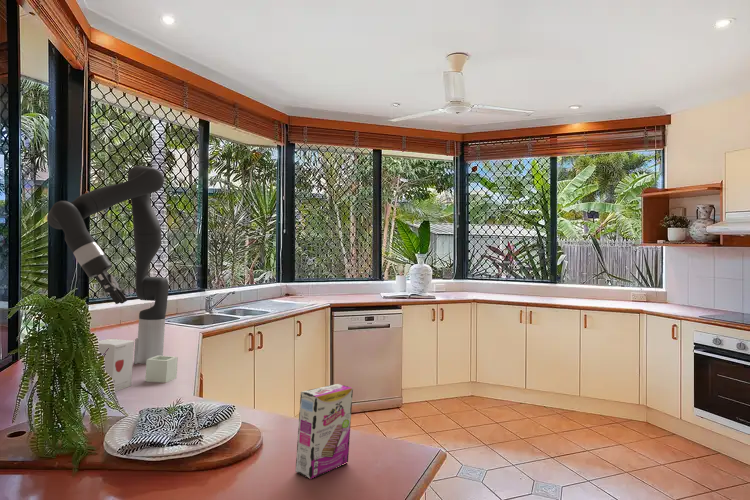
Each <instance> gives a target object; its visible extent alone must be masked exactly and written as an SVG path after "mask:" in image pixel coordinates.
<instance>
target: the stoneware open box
mask: <svg viewBox="0 0 750 500" xmlns="http://www.w3.org/2000/svg"><path fill="white" fill-rule="evenodd" d="M178 359H179V357H178V356H174V355H173V356H172V355H163V356H159V355H158V356H155V357H152V358H149V359H147V361H146V364H145V377H144V378H145V382H148V383H149V382H150V383H166V384H167V383H169V382H171V381H172V380H174V379H177V376H178V375H177V373H178Z"/></svg>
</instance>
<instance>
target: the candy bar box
mask: <svg viewBox="0 0 750 500" xmlns="http://www.w3.org/2000/svg"><path fill="white" fill-rule="evenodd" d="M353 391H354V387H351V386H348V385H345V384H341V383H336V384H335V383H334V384H329V385H326V386H322V387H317V388H312V389H308V390H303V391H301V392H300V399H299V400H300V401H299V411H298V412H299V416H298V427H297V428H298V431H297V442H296V443H297V444H296V459H295V460H296V461H295V473H296V472H297V474H298V473H299V475H300V474H301V476H302V475H303V476H302V477H304V476H306V477H308V478H310V479H309V480H313V479H315V478H317V477H316V476H318V477H320V476H322V475H324V474H323V473H325V474H327V473H329V472H331V471H330V470H332V469H334V468H336V467H338V466H340V465H342V464H344V463H346V462H348V463H349V452H350V441H351V440H350V438H351V437H350V435H351V423H352V421H351V420H352V409H353V408H352V407H353ZM336 469H337V468H336ZM334 470H335V469H334ZM328 471H329V472H328ZM332 471H333V470H332ZM326 472H327V473H326ZM321 474H322V475H321ZM319 475H320V476H319ZM306 477H305V478H306ZM314 477H315V478H314ZM308 478H307V479H308ZM312 478H313V479H312Z"/></svg>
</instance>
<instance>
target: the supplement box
mask: <svg viewBox="0 0 750 500" xmlns="http://www.w3.org/2000/svg"><path fill="white" fill-rule="evenodd" d="M98 342H99V352H100V353H102V354H103V353H105V351H106V350H107V349H108V348H109V350H108V351H107V352H106V355H105V370H106V372H107V373H108V374H109V375H110V376H111V377H112V379H113V383H114V387H115V392H117V391H120V390H123V389H125V388H128V387H131V386H132V379H133V377H132V376H133V365H134V351H135V340H132V339H131V340H128V339H119V338H117V339H116V338H108V339H103V340H98Z"/></svg>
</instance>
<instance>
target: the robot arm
mask: <svg viewBox="0 0 750 500" xmlns="http://www.w3.org/2000/svg"><path fill="white" fill-rule="evenodd" d="M127 174H128V175H127V181H123V182H120V183H116V184H112V185H106V186H102V187H98V188H96V189H93V190H91V191H88V192H85V193H83V194H81V195H79V196H77V197H76V198H75V199H74V200H73V201H71V202H70V201H67V200H59V201H56V202H55V203H54V204H53V205H52V207H51V208H50V210H49V211H48V213H47V216H46V220H47V223H48V225H49V226H50V227H52V228H53V229H56V230H62V231H63V233H64V241H65V242H66V243H65V244H66V245H67V246H68V248H69V249H70V250H71V252H72V254H73V255H74V257H75V260H76V261H77V262H78V264H79V265H80V267H81V268H82V270H83V271H84V272H85V274H86V275H87V277H88V278H89V279H93V278H95V279H96V280H97V282H98V283H99V284H100V286H101V287H102V289H103V291H104V293H106V294H108V295H109V296H110V298H111V299H112V300H113V302H114V303H115V305H118V304H121V305H123V304H125V303H126V302H127V301H128V298H127V297H126V296H125V294H124V293H123V292H122V286H120V285H119V283H118V281H117V280H116V279H115V276H114V275H113V274H112V273H109V272H108V271H109V270H110V269H112V267H113V264H112V263H111V261H110V259H109V258H108V257H107V256H106V253H105V252H104V251H103V249H102V248H101V246H100V245H98V243H97V242H96V240H95V239H94V238H93V236H92V235H91V233H90V232H89V231H88V229H87V225H86V223H85V221H84V220H85V219H87V218H88V217H90V216H92V215H95V214H97V213H100V212H101V211H105V210H107V209H108V208H111V207H113V206H116V205H119V204H120V203H124V202H126V201H128V200H130V201H131V202H130V203H131V212H132V221H133V222H132V225H133V240H134V241H133V242H134V250H135V251H134V252H135V293H136V297H137V298H138V299H139V300H140V301H151V302H154V304H153V305H152V306H151V307H148V308H145V309H143V310H140V311H139V313H138V330H137V338H135V339H134V350H133V365H136V364H141V365H146V361H147V359H149V358H152V357H155V356H158V355H159V356H164V345H165V331H166V330H165V328H166V327H165V326H166V315H167V307H168V297H169V291H170V290H169V288H170V287H169V286H170V285H169V281H168V279H167V278H166V277H163V276H150V275H149V270H150V269H149V268H150V265H151V263H152V260H153V258H154V257H155V256H156V254H158V251H159V249H160V248H161V246H162V229H161V224H160V221H159V219H158V217H157V215H156V213H155V211H154V209H153V206H152V202H151V194H152V193H157V192H159V191H160V190H161V188H163V186H164V183H165V177H164V174H163V173H162V171H160V170H159V169H158V168H155V167H152V166H145V165H144V166H143V165H134V166H132V167H131V168H130V169H129V171H128V173H127Z"/></svg>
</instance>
